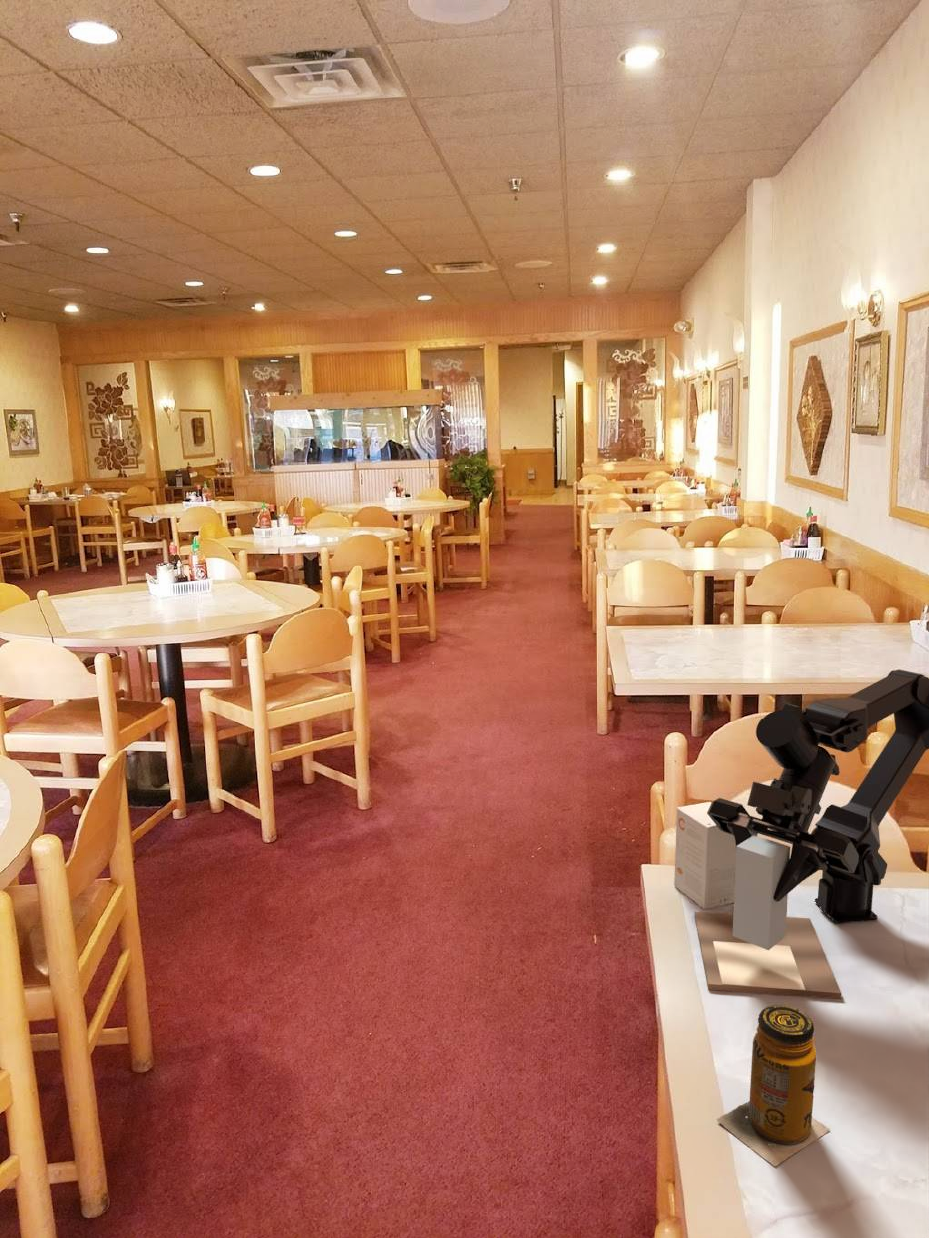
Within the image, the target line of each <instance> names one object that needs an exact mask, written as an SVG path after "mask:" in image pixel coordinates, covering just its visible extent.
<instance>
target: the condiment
mask: <svg viewBox="0 0 929 1238" xmlns="http://www.w3.org/2000/svg"><path fill="white" fill-rule="evenodd" d="M757 1020H758V1021H757V1024H758V1025H757V1028H756V1033H755V1035H754V1037H753V1040H752V1051H751V1052H752V1053H751V1069H750V1070H751V1071H750V1083H749V1084H750V1086H749V1087H750V1089H749V1101H746V1102H745V1103H743V1104H741V1105H738V1106H737V1107H736V1108H734V1109H731V1111H729V1112H727V1113H725V1114H723V1115H721V1116H720V1117H718V1118H717V1119H716V1120H717V1122H719V1123H720V1124H721V1125H722V1126H723V1127H724V1128H725V1129H726V1130H728V1132H730V1133H731V1134H732V1135H733V1136H735V1137H736V1138H737V1139H738V1140H739V1141H741V1142H742V1143H743V1144H745V1145H746V1146H747V1147H748V1148H749V1149H751V1150H752V1151H754V1152H755V1153H757V1155H759V1156H760V1157H762V1158H763V1159H764V1160H766V1161H767V1162H769V1163H770V1164H771V1165H772V1166H774V1167H776V1166H778V1165H779V1164H780V1163H782V1162H785V1161H786V1160H788V1158H790V1157H791V1156H793V1155H794V1154H796V1153H797V1152H799V1151H801V1150H802V1149H804V1148H806V1147H808V1146H809V1145H810V1144H812V1143H813V1142H815V1141H816V1140H818V1139H819V1138H821V1137H822V1136H824V1135H825V1134H826V1133H828V1132H829V1131H830V1130H831V1129H830V1128H829V1127H827V1126H826V1125H824V1124H823V1123H822V1122H820V1121H818V1120H817V1119H816V1118H814V1117H813V1110H814V1109H813V1107H814V1099H815V1098H814V1097H815V1096H814V1093H815V1078H816V1077H815V1076H816V1066H817V1065H816V1063H817V1050H816V1047H815V1043H814V1042H815V1040H814V1033H815V1032H814V1031H815V1028H814V1026H815V1025H814V1022H813V1021H812V1019H811V1018H810V1016H808V1014H806V1013H805V1012H803V1011H802V1010H800V1009H798V1008H794V1007H793V1006H792V1007H791V1006H789V1005H778V1004H776V1005H771V1006H767V1007H765V1008H763V1009H762V1010H761V1011H760V1013H759V1014H758V1018H757Z"/></svg>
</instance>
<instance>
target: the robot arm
mask: <svg viewBox="0 0 929 1238" xmlns="http://www.w3.org/2000/svg"><path fill="white" fill-rule="evenodd" d="M890 716H893V718H894V728H895V729H894V732H893V733H892V735H891V736H890V739H889V740H888V741H887V742H886V744H885V745H884V747H883V749H882V751H881V752H880V754H879V755H878V757H877V758H876V760H875V761H874V763H873V764H872V766H871V767H870V769H869V770H868V772H867V773H866V775H865V776H864V778H863V779H862V781H861V783H860V784H859V786H858V788H857V789H856V791H855V792H854V793H853V795H852V797H851V798H850V800H849V802H848V803H846V804H845V805H843V806H839V805H835V804H830V805H828V806H827V807H826V809H825V811H824V813H823V814H822V816H821V817H820V819H819V820H818V821H817V822H816V823H815V824H814V826H815V828H813V830H812V831H811V833H810V832H809V829H810V827H811V824H812V822H813V819H814V816H815V815H820V813H821V810H822V806H821V805H820V802H821V799H822V798H823V794H825V793H824V792H825V789H826V787H827V785H828V783H829V781H830V778H831V776H839V775H840V766H839V765H838V763H837V761H836V755H835V754H831V753H830V752H829V751H828V750H827V749H826V748H829V749H832V750H836V751H840V752H843V753H851V752H853V751H855V749H857V748H858V747H859V746H860V745H862V743H864V742H865V741H866V740H867V739H868V735H869V734H868V732H869V731H868V730H869V729H870V728H871V727H872V726H874V725H876V724H878V723H880V722H881V721H882V720H884V719H887V718H888V717H890ZM755 736H756V738H757V740H758V742H759V743H760V744H761V745H762V747H763V748H764V749H765V751H766V752H767V753H768V754H769V755H770V756H771V758H772V759H773V761H775V763H776V764H777V765H778V766H780V767H781V768H783V769H782V771H781V774H780V776H779V778H778V779H777V778H773V780H772V781H771V783H770V785H769V784H764V783H761V782H758V781H757V782H756V781H753V782H752V783H751V785H752V786H751V788H750V792H749V796H748V801H747V804H746V805H747V806H749V807H753V808H755V812H756V813H757V814H758V815H760V816H762V817H761V818H759V817H756V816H753V815H750V814H749V812H748V811H747V810H746V808H745V806H744V805H743V804H741V803H738V802H734V801H732V800H728V799H724V798H721V797H718V798H717V799H715V800H713V801H712V802H711V805H710V807H709V810H708V812H707V814H708V815H709V816H710V818H711V819H712V820H713V822H714V823H715V824H716V825H717V827H718V828H719V829H720V830H721V831H723V832H725V833H728V834H731V835H733V836H734V837H735V844H736V846H737V845H739V844H741V843H742V842H744V841H745V840H747V839H748V838H750V837H752V836H753V835H756V836H758V834H759V835H762V836H765V837H769V838H771V839H775V840H778V841H781V842H784V843H787V844H791V845H792V846H791V850H790V860H789V862H788V864H787V866H786V868H785V870H784V872H783V875H782V877H781V879H780V881H779V883H778V885H777V888H776V891H775V894H774V897H773V899H774V900H775V901H777V902H779V901H780V900H781V899H782V898H783V897H785V896H786V895H787V894H788V895H789V893H790V892H791V891H793V890H794V889H796V888H797V886H798V885H800V884H801V883H803V881H805V880H806V879H808V878H809V877H810V876H812V875H814V874H815V873H817V872H818V871H822V873H821V875H822V876H821V878H819V880H818V890H817V892H818V893H817V897H815V898H814V903H815V902H816V903H815V904H816V905H817V906H818V907H819V908H820V907H821V908H822V909H823V910H822V909H821V908H820V909H821V910H822V912H824V913H825V915H827V916H828V918H830V919H831V921H833V922H834V923H835V924H843V923H856V922H857V923H859V922H868V921H877V920H878V915H877V914H876V913H875V912H874V911H873V910H872V908H873V895H874V886H880V885H881V884H882V880H883V879H885V875H886V873H887V869H888V863H887V861H886V860H885V859H884V858H883V856H882V855H881V854H880V852H879V850H880V848H881V839H880V830H879V829H880V828H879V827H880V824H881V822H882V821H883V819H884V818H885V816H886V814H887V813H888V811H889V810H890V808H891V807H892V805H893V804H894V803H895V800H896V799H897V797H898V795H899V794H900V792H901V791H902V789H903V788H904V786H905V784H906V782H907V781H908V779H909V778H910V777H911V774H912V773H913V772H914V770H915V768H916V767H917V765H918V763H919V762H920V761H921V759H922V757H923V756H924V754H925V752H926V751H927V750H929V677H928V676H925V674H922V673H917V672H912V671H908V670H903V669H894V670H891V671H890V672H889V673H888V674H887V676H885V677H884V678H882V679H879V680H878V681H876V682H873V683H872V684H870V685H869V686H866V687H864V688H863V689H861V690H858V691H857V692H855V693H853V694H851V695H849V696H847V697H832V698H831V697H830V698H829V697H828V698H823V699H818V700H814V701H812V702H810V704H808V705H807V706H806V708H805V709H803V710H802V708H801V707H800V706H798V705H795V704H792V703H789V702H786V703H785V704H784V705H783V707H782V709H778V710H773V711H772V712H769V713H768V714H767V715H765V716H764V717H763V718H761V719H760V720H759V721H758V723H757V725H756V729H755ZM822 746H823V747H822ZM825 747H826V748H825ZM735 864H736V862H735ZM734 884H735V880H734Z"/></svg>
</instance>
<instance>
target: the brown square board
mask: <svg viewBox="0 0 929 1238" xmlns="http://www.w3.org/2000/svg"><path fill="white" fill-rule="evenodd" d="M694 922H695V928H696V931H697V937H698V943H699V949H700V955H701V958H702V964H703V965H702V966H703V969H704V974H705V979H706V985H707V990H708V991H709V990H710V991H720V992H721V991H722V992H735V993H750V994H751V993H752V994H767V995H778V996H779V995H783V996H795V997H796V996H797V997H810V998H811V997H812V998H825V999H826V998H827V999H840V1000H841V999H842V991H841V989H840V986H839V984H838V982H837V979H836V977H835V975H834V973H833V972H834V971H833V970H832V967H831V965H830V963H829V960H828V957H827V955H826V953H825V950H824V948H823V946H822V944H821V940H820V939H819V937H818V933H817V932H816V930H815V928H814V925H813V922H812V920H811V918H810V917H809V918H808V917H794V916H793V917H791V916H787V917H786V936H785V937H784V938H783V939H782V940H781V941H779V942H778V943H777V944H776V945H774V946H773V947H772V948H771V949H770V950H766V949H764V948H761V947H759V946H756V945H754V944H751V943H749V942H746V941H744V940H742V939H739V938H737V937H734V936H733V913H727V912H726V913H724V912H723V913H721V912H706V911H705V912H704V911H703V912H702V911H694Z"/></svg>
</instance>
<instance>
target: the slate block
mask: <svg viewBox="0 0 929 1238" xmlns="http://www.w3.org/2000/svg"><path fill="white" fill-rule="evenodd" d="M790 857H791V846H790V845H788V844H783V843H780V842H778V841H774V840H771V839H767V838H764V837H763V836H758V835H757V836H756V835H753V836H752V837H750V838H748V839H747V840H745V841H744V842H742V843H741V844H739V845H737V846H736V864H735V889H734V902H733V913H732V914H733V936H734V937H737V938H739V939H742V940H744V941H746V942H749V943H751V944H754V945H756V946H759V947H761V948H764V949H766V950H770V949H771V948H772V947H773V946H774V945H776V944H777V943H778V942H779V941H781V940H782V939H783V938H784V937H785V936H786V917H788V916H787V914H788V913H787V912H788V895H789V893H788V894H787V895H786V896H785V897H783V898H782V899H781V900H780V901H779V902H777V901H775V900H774V899H773V897H774V894H775V891H776V888H777V885H778V883H779V881H780V879H781V877H782V875H783V872H784V870H785V868H786V866H787V864H788V862H789V860H790Z"/></svg>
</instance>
